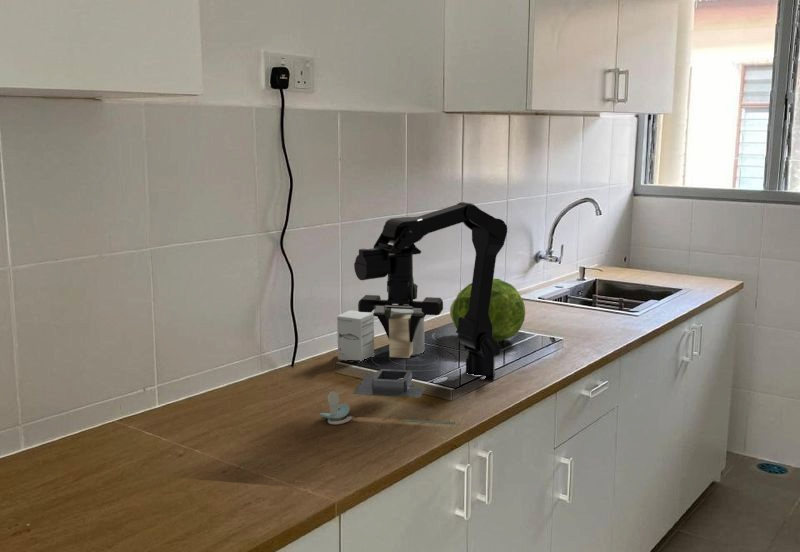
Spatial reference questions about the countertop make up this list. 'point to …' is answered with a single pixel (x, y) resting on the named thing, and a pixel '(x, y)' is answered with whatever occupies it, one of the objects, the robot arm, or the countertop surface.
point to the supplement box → (355, 335)
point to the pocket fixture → (389, 384)
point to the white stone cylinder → (419, 334)
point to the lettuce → (495, 309)
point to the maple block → (400, 336)
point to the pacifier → (336, 410)
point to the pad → (428, 421)
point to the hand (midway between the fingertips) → (401, 341)
